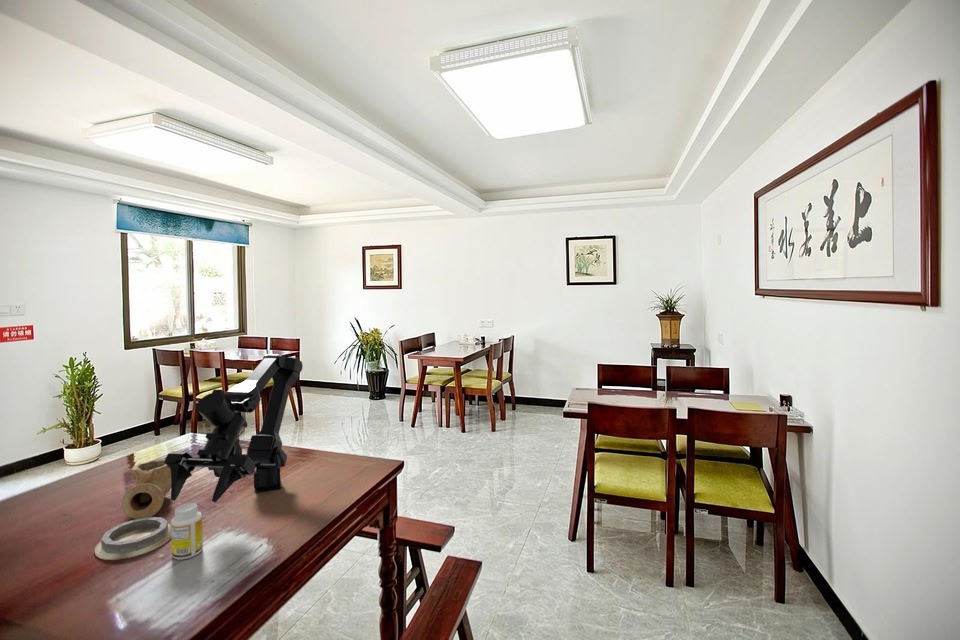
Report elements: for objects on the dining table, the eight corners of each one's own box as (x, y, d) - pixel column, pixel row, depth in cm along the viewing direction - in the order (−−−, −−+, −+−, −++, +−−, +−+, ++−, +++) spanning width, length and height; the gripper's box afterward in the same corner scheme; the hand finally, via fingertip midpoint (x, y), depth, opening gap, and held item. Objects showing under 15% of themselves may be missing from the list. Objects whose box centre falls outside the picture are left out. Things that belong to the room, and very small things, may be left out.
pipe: (118, 524, 107) (117, 484, 106) (136, 496, 121) (135, 460, 121) (164, 517, 110) (163, 477, 110) (176, 490, 125) (175, 455, 124)
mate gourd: (214, 461, 146) (214, 431, 146) (239, 456, 151) (239, 427, 151) (219, 468, 141) (219, 437, 140) (246, 462, 146) (246, 432, 145)
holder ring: (178, 520, 109) (178, 509, 109) (167, 550, 96) (167, 538, 96) (106, 532, 103) (106, 521, 103) (84, 566, 90) (84, 554, 90)
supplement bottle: (197, 543, 99) (196, 498, 99) (206, 552, 96) (205, 506, 95) (168, 553, 95) (167, 507, 95) (176, 564, 92) (175, 516, 91)
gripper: (274, 452, 113) (249, 515, 102) (202, 449, 114) (171, 512, 103) (257, 430, 105) (228, 497, 94) (180, 427, 106) (143, 493, 95)
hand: (193, 500), depth 97 cm, fingers open, 9 cm apart
